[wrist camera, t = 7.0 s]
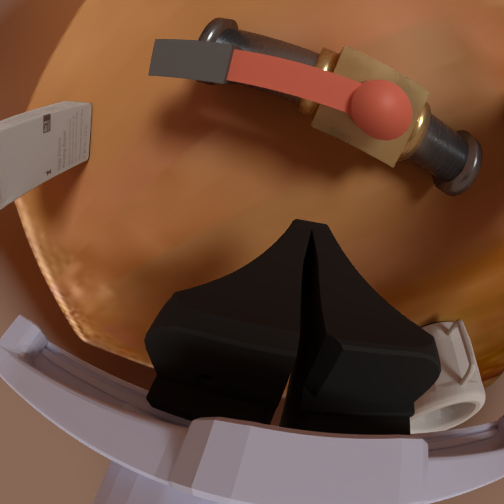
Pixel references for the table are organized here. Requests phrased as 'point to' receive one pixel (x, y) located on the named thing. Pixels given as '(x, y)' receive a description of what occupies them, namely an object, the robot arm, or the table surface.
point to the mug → (450, 382)
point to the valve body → (344, 127)
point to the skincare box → (42, 146)
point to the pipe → (426, 155)
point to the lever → (287, 82)
